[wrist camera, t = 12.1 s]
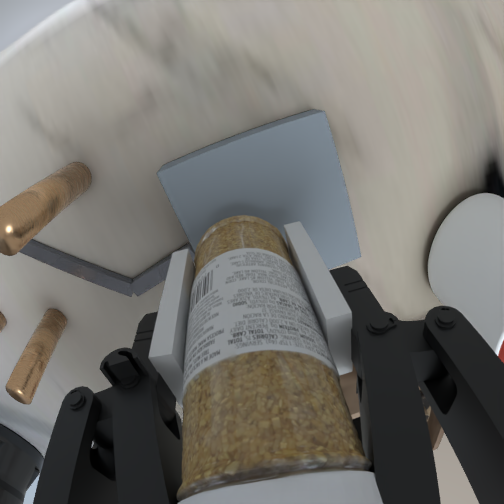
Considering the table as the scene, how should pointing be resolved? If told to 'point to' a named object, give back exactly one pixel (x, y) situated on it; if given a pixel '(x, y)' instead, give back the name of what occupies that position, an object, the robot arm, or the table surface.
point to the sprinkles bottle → (262, 383)
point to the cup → (472, 265)
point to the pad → (269, 184)
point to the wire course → (57, 266)
